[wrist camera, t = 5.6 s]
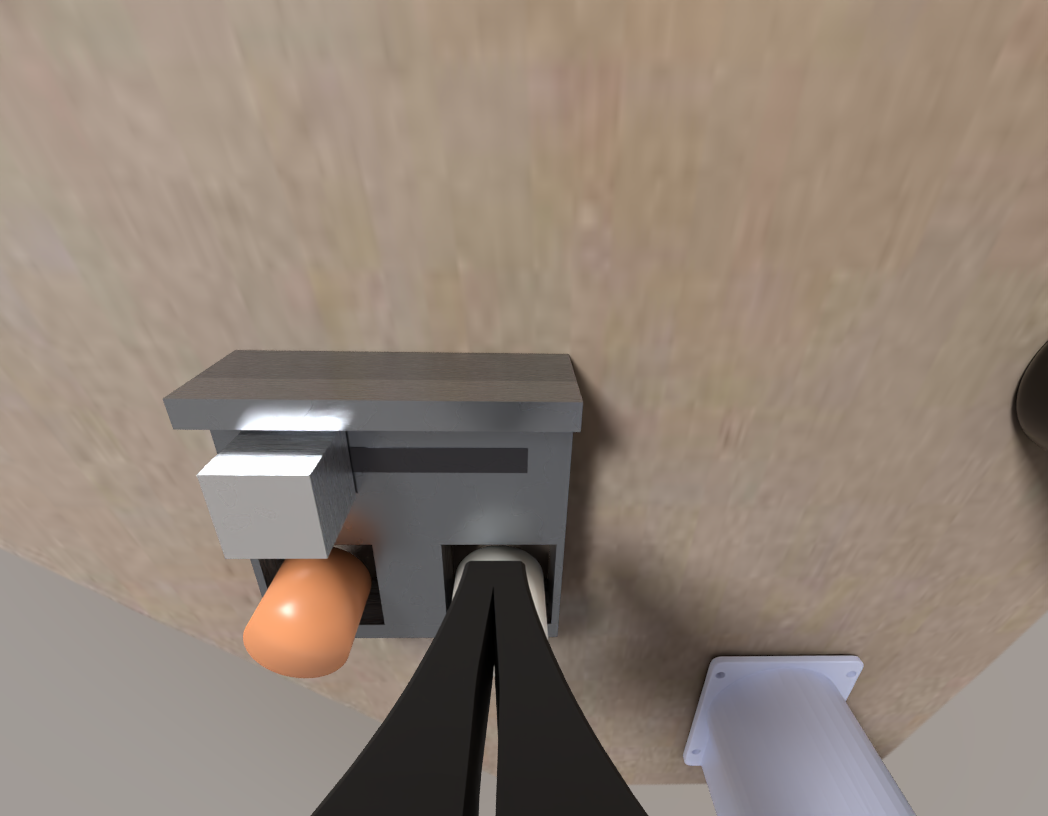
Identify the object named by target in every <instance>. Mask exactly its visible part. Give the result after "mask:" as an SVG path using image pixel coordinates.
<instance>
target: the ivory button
mask: <svg viewBox="0 0 1048 816" xmlns="http://www.w3.org/2000/svg"><path fill="white" fill-rule="evenodd" d="M469 561H522V562H523V563H524V564H525V567H526V574H527V579H528V583H529V588H530V591H531V595H532V598H533V601H534V604H535V608H536V611H537V613H538V616H539V619H540V622H541V624H542V627H543V629H544V632H545V634H546V637H547V639H548V630H547V617H546V604H545V591H544V578H543V571H542V568H541V566H540V564H539V563H538V561H537V560H536V559H535V558H534V557H533V556H532V555H530V554H529V553H527V552H525V551H523V550H521V549H519V548H516V547H512V546H505V545H494V546H487V547H483V548H480V549H478V550H475V551H473V552H472V553H470V554H469V555H467V556H466V557H465V558H464V559H463V560H462V561H461V562H460V564H459V566H458V568H457V570H456V575H455V582H454V589H453V596H452V600H453V597H454V595H455V593H456V590H457V588H458V585H459V582H460V579H461V576H462V573H463V570H464V566H465V564H466V563H467V562H469ZM493 676H495V669H494V672H493Z"/></svg>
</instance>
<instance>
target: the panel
mask: <svg viewBox="0 0 1048 816" xmlns="http://www.w3.org/2000/svg"><path fill="white" fill-rule="evenodd" d="M163 401H164V404H165V407H166V410H167V412H168V415H169V418H170V421H171V424H172V427H173V429H185V430H210V432H211V435H212V438H213V441H214V444H215V448H216V451H217V454H219V453H220V452H221V451H222V450H223V449H224V448H225V447H226V446H227V445H228V444H229V443H230V442H231V441H232V440H233V439H234V438H235V437H236V436H237V435H238V434H239V433H240V432H241V431H242V430H338V431H345V433H346V439H347V445H348V451H349V457H350V463H351V469H352V475H353V481H354V487H355V493H356V499H355V501H354V503H353V505H352V507H351V509H350V511H349V514H348V516H347V518H346V520H345V522H344V524H343V526H342V529H341V531H340V533H339V535H338V537H337V539H336V541H335V544H334V545H372V547H373V553H374V560H375V566H376V572H377V579H371V582H372V584H371V590H370V593H369V596H368V599H367V602H366V605H365V608H364V611H363V614H362V617H361V620H360V623H359V626H358V629H357V632H356V635H355V638H434V637H435V635H436V633H437V631H438V629H439V627H440V625H441V623H442V621H443V619H444V617H445V615H446V613H447V611H448V609H449V607H450V604H451V602H452V596H453V589H454V582H455V579H453V563H452V547H451V545H549V561H548V578H547V579H544V591H545V604H546V617H547V630H548V637H557V636H558V623H559V610H560V597H561V584H562V570H563V557H564V544H565V531H566V518H567V505H568V492H569V479H570V466H571V452H572V439H573V432H581V421H582V410H583V400H582V397H581V394H580V390H579V387H578V384H577V380H576V377H575V374H574V370H573V367H572V364H571V360H570V357H569V354H510V353H422V352H334V351H246V350H235V351H233V352H232V353H230V354H229V355H227V356H226V357H224V358H223V359H221V360H220V361H218V362H217V363H215V364H214V365H212V366H211V367H209V368H208V369H206V370H205V371H203V372H202V373H200V374H199V375H197V376H196V377H194V378H193V379H191V380H190V381H188V382H187V383H185V384H184V385H182V386H181V387H179V388H178V389H176V390H175V391H173V392H172V393H170V394H169V395H167V396H166V397H164V398H163ZM250 560H251V563H252V566H253V569H254V572H255V576H256V579H257V582H258V585H259V588H260V592H261V595H262V598H263V596H264V595H265V593H266V591H267V589H268V588H269V586H270V584H271V582H272V581H273V579H274V577H275V576H276V574H277V572H278V570H279V569H280V567H281V565H282V563H283V562H284V560H285V559H250Z"/></svg>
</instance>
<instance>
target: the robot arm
mask: <svg viewBox="0 0 1048 816" xmlns="http://www.w3.org/2000/svg"><path fill="white" fill-rule="evenodd" d="M863 666H864V664H863V662H862V661H861V660H860V658H859V657H857V656H853V655H846V656H721V657H716V658H714V659H713V660H712V661H711V663H710V666H709V669H708V673H707V676H706V679H705V683H704V686H703V689H702V693H701V696H700V700H699V703H698V706H697V710H696V713H695V716H694V720H693V723H692V727H691V730H690V733H689V737H688V740H687V743H686V747H685V750H684V753H683V758H684V762H685V763H686V764H687V765H691V766H702V769H703V772H704V775H705V779H706V782H707V785H708V788H709V791H710V794H711V797H712V801H713V804H714V807H715V810H716V813H717V816H916V814H915V812H914V811H913V809H912V808H911V806H910V804H909V803H908V801H907V800H906V798H905V796H904V795H903V794H902V792H901V790H900V788H899V787H898V785H897V783H896V782H895V780H894V779H893V777H892V776H891V774H890V772H889V771H888V769H887V768H886V766H885V764H884V763H883V761H882V759H881V758H880V756H879V755H878V753H877V751H876V750H875V748H874V747H873V745H872V743H871V742H870V740H869V738H868V737H867V735H866V734H865V732H864V730H863V729H862V727H861V726H860V724H859V722H858V721H857V719H856V718H855V716H854V714H853V713H852V711H851V710H850V708H849V706H848V705H847V703H846V700H847V698H848V696H849V694H850V692H851V690H852V688H853V686H854V684H855V682H856V680H857V678H858V676H859V675H860V673H861V671H862V669H863ZM494 669H495V688H496V707H497V726H498V763H497V792H496V816H648V815H647V813H646V812H645V810H644V809H643V807H642V806H641V805H640V803H639V802H638V800H637V799H636V798H635V796H634V795H633V793H632V792H631V790H630V789H629V787H628V786H627V784H626V782H625V781H624V779H623V778H622V776H621V775H620V773H619V772H618V770H617V769H616V767H615V765H614V764H613V762H612V761H611V759H610V758H609V756H608V755H607V753H606V752H605V750H604V748H603V747H602V745H601V744H600V742H599V740H598V738H597V737H596V735H595V733H594V732H593V730H592V728H591V726H590V725H589V723H588V721H587V719H586V718H585V716H584V714H583V712H582V710H581V709H580V707H579V705H578V703H577V701H576V699H575V697H574V695H573V694H572V692H571V690H570V688H569V686H568V684H567V682H566V680H565V678H564V675H563V673H562V671H561V669H560V667H559V665H558V663H557V660H556V658H555V656H554V654H553V651H552V649H551V647H550V644H549V642H548V639H547V637H546V634H545V632H544V629H543V627H542V624H541V622H540V619H539V616H538V613H537V611H536V608H535V604H534V601H533V598H532V595H531V591H530V588H529V583H528V579H527V574H526V567H525V564H524V563H523V562H522V561H469V562H467V563H466V564H465V566H464V570H463V573H462V576H461V579H460V582H459V585H458V588H457V590H456V593H455V595H454V597H453V600H452V602H451V604H450V607H449V609H448V611H447V613H446V615H445V617H444V619H443V621H442V623H441V625H440V627H439V629H438V631H437V633H436V635H435V637H434V639H433V641H432V643H431V645H430V647H429V648H428V650H427V652H426V654H425V656H424V657H423V659H422V661H421V663H420V664H419V666H418V668H417V670H416V671H415V673H414V675H413V677H412V678H411V680H410V682H409V683H408V685H407V686H406V688H405V690H404V691H403V693H402V694H401V696H400V697H399V699H398V701H397V702H396V704H395V705H394V707H393V708H392V710H391V711H390V713H389V714H388V716H387V717H386V719H385V720H384V722H383V723H382V724H381V726H380V727H379V728H378V730H377V731H376V733H375V734H374V735H373V737H372V738H371V740H370V741H369V743H368V744H367V745H366V747H365V748H364V749H363V751H362V752H361V753H360V755H359V756H358V757H357V759H356V760H355V762H354V763H353V764H352V765H351V767H350V768H349V769H348V771H347V772H346V773H345V774H344V776H343V777H342V778H341V779H340V780H339V782H338V783H337V784H336V785H335V787H334V788H333V789H332V790H331V791H330V793H329V794H328V795H327V796H326V798H325V799H324V800H323V801H322V802H321V804H320V805H319V806H318V808H317V809H316V810H315V811H314V812H313V813H312V815H311V816H479V794H480V782H481V771H482V763H483V754H484V746H485V738H486V730H487V722H488V713H489V705H490V697H491V689H492V680H493V672H494Z"/></svg>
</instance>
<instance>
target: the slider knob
mask: <svg viewBox="0 0 1048 816" xmlns="http://www.w3.org/2000/svg"><path fill="white" fill-rule="evenodd" d="M197 477H198V480H199V483H200V486H201V489H202V492H203V495H204V498H205V501H206V504H207V507H208V510H209V512H210V515H211V518H212V521H213V524H214V527H215V530H216V533H217V536H218V539H219V542H220V545H221V547H222V550H223V553H224V556H225V559H327V558H328V556H329V554H330V552H331V550H332V548H333V546H334V544H335V541H336V539H337V537H338V535H339V533H340V531H341V529H342V526H343V524H344V522H345V520H346V518H347V516H348V514H349V511H350V509H351V507H352V505H353V503H354V501H355V499H356V493H355V487H354V481H353V475H352V469H351V463H350V457H349V451H348V445H347V439H346V433H345V431H338V430H242V431H241V432H240V433H239V434H238V435H237V436H236V437H235V438H234V439H233V440H232V441H231V442H230V443H229V444H228V445H227V446H226V447H225V448H224V449H223V450H222V451H221V452H220V453H219V454H218V455H217V456H216V457H214V458H213V459H212V460H211V461H210V462H209V463H208V464H207V465H206V466H205V467H204V468H203V469H202V470H201V471H200V472H199V473H198V474H197Z"/></svg>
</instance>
